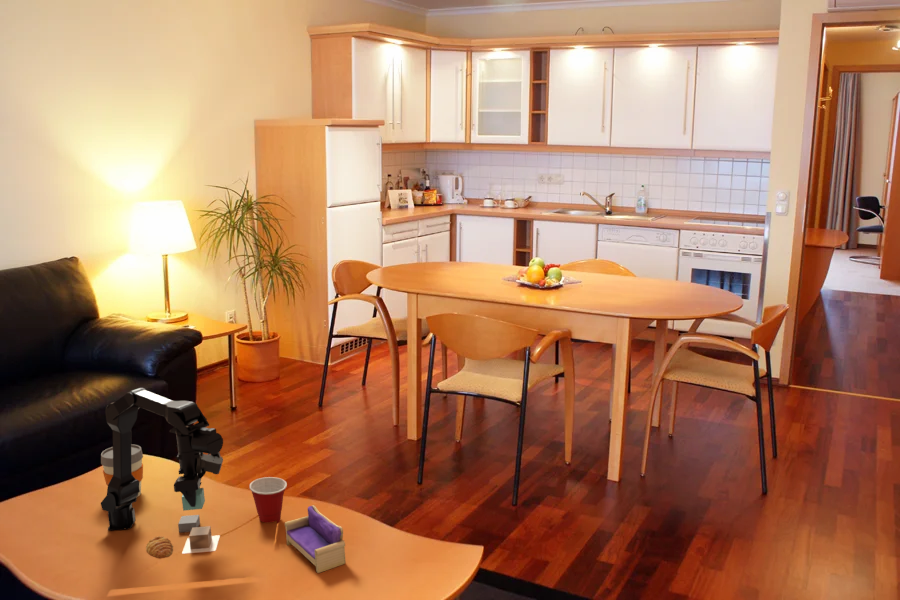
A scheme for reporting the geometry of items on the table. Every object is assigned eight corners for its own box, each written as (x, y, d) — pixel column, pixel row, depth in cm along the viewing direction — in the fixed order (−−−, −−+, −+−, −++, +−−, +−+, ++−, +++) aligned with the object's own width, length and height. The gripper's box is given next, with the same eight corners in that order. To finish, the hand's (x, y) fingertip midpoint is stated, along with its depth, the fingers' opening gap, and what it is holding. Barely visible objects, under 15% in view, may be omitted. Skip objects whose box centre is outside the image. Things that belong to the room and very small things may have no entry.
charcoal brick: (179, 536, 239) (178, 523, 239) (183, 528, 244) (181, 516, 243) (197, 535, 240) (196, 522, 239) (200, 527, 245) (199, 514, 244)
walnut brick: (190, 549, 229) (189, 536, 228) (193, 540, 234) (192, 527, 233) (209, 547, 230) (207, 534, 229) (211, 539, 234) (210, 526, 234)
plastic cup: (277, 532, 240) (274, 493, 238) (245, 527, 244) (241, 488, 241) (296, 515, 250) (293, 478, 248) (265, 511, 254) (262, 474, 251)
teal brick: (183, 510, 227) (181, 496, 226) (186, 502, 232) (184, 489, 231) (202, 508, 228) (200, 495, 227) (204, 501, 233) (203, 487, 232)
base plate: (182, 557, 227) (181, 553, 227) (187, 541, 236) (187, 538, 236) (215, 554, 228) (215, 550, 228) (220, 539, 237) (220, 535, 237)
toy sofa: (285, 544, 233) (282, 510, 231) (313, 535, 238) (311, 502, 236) (317, 575, 216) (315, 539, 214) (347, 565, 221) (345, 529, 219)
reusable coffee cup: (111, 488, 274) (106, 445, 271) (151, 485, 275) (146, 442, 272) (100, 505, 261) (94, 460, 258) (141, 502, 263) (136, 457, 260)
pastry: (178, 557, 227) (177, 545, 227) (153, 565, 224) (152, 552, 223) (168, 544, 235) (167, 532, 234) (144, 552, 231) (142, 539, 231)
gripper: (214, 458, 219) (220, 514, 222) (223, 434, 237) (229, 486, 240) (170, 462, 217) (177, 518, 220) (183, 438, 235) (189, 489, 238)
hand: (194, 502), depth 230 cm, fingers closed on teal brick, 5 cm apart
